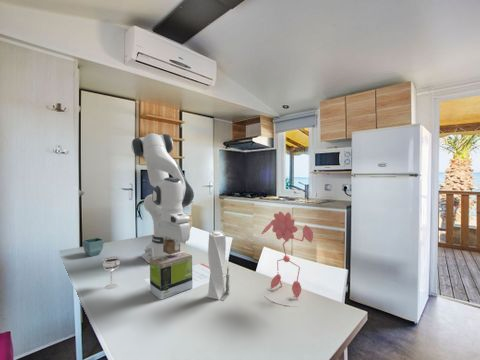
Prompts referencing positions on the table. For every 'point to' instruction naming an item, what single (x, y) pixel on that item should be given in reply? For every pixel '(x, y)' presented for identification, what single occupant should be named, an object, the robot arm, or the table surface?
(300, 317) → the table surface
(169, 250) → the walnut cube
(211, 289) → the skyscraper
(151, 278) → the tea box
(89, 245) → the flower pot
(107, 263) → the wineglass
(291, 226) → the figurine
